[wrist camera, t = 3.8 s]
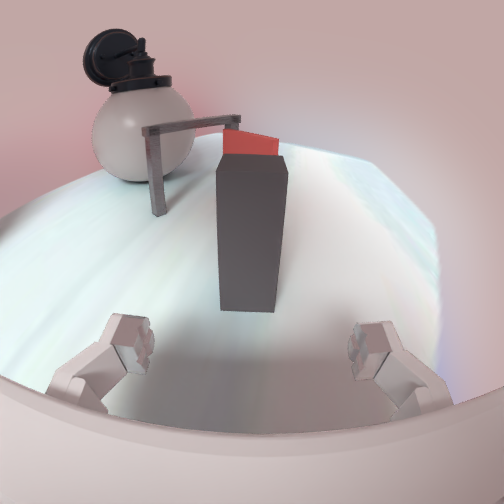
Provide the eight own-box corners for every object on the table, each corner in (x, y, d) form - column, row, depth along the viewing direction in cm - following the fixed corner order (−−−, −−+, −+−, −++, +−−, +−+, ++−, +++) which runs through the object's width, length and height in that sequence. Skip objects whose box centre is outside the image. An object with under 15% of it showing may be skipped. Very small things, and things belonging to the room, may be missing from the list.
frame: (233, 187, 48) (234, 114, 41) (239, 189, 47) (240, 115, 40) (150, 214, 39) (141, 127, 32) (154, 217, 38) (145, 128, 31)
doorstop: (220, 310, 24) (215, 170, 17) (225, 277, 28) (223, 153, 21) (273, 312, 24) (288, 173, 17) (271, 279, 28) (282, 155, 21)
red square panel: (223, 190, 45) (223, 129, 39) (227, 189, 46) (228, 128, 40) (269, 211, 39) (273, 139, 34) (273, 209, 40) (278, 138, 34)
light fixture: (126, 208, 40) (117, -7, 22) (80, 181, 52) (70, 33, 34) (218, 175, 53) (221, 6, 35) (153, 157, 65) (150, 29, 47)
